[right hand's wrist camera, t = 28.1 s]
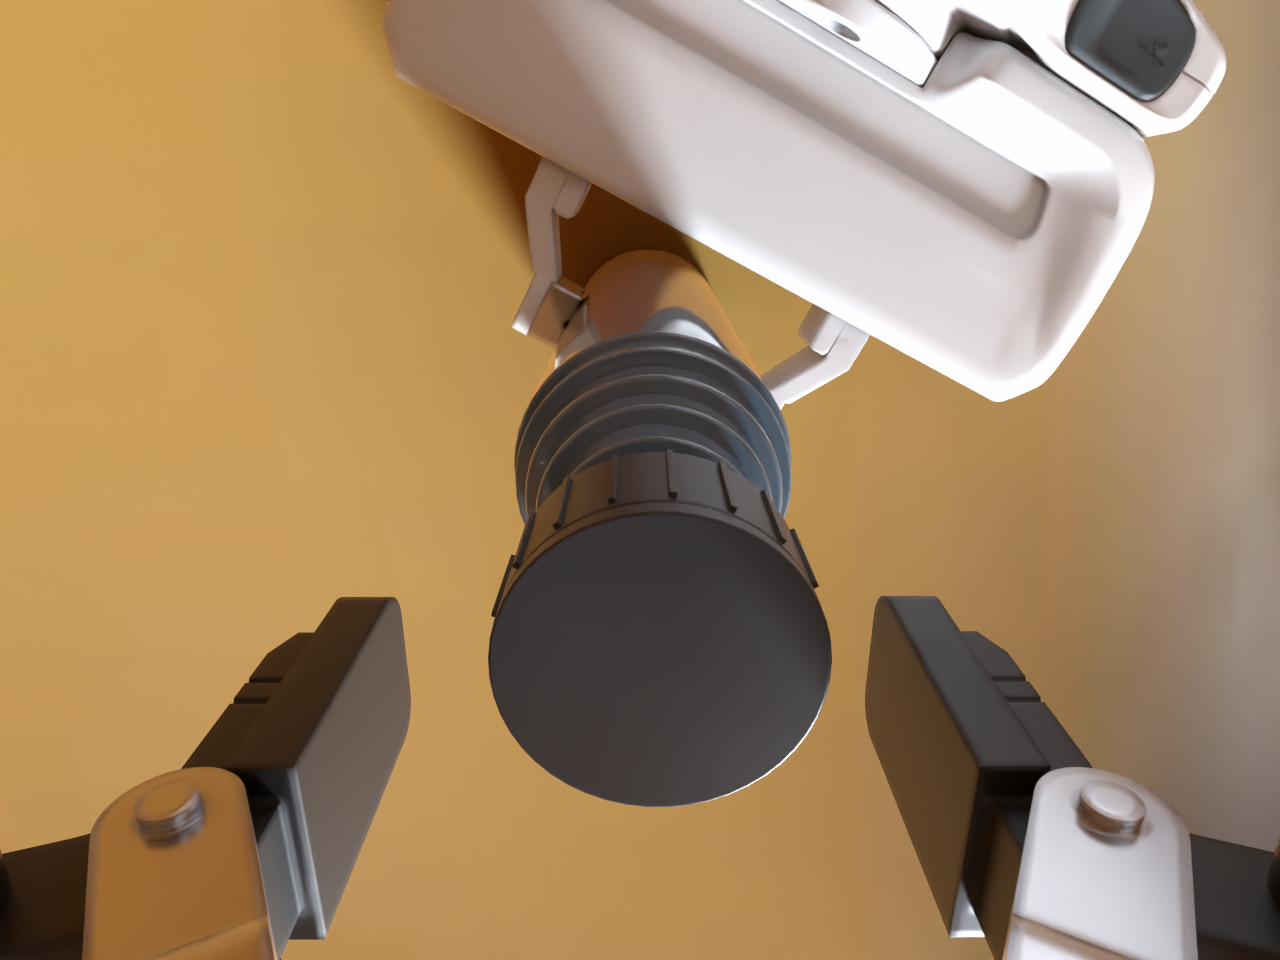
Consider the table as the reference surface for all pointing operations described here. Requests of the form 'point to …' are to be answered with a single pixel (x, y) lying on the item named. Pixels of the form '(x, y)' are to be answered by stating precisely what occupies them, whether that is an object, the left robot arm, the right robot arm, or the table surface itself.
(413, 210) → the table surface
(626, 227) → the table surface
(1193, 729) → the table surface
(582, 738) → the cap
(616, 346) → the bottle
